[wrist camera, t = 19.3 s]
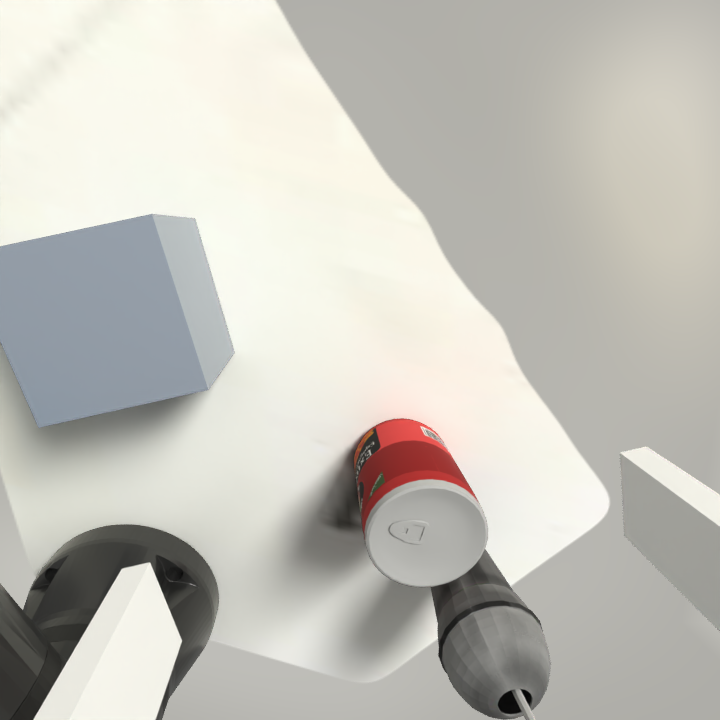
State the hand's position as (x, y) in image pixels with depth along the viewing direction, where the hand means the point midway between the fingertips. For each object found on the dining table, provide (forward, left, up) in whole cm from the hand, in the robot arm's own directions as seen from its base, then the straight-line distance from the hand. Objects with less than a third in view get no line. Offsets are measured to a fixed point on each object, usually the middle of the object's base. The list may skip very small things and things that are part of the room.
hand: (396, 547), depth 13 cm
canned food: (-10, -5, -25) cm, 27 cm away
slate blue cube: (+2, +15, -25) cm, 29 cm away
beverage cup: (-18, -10, -25) cm, 32 cm away
